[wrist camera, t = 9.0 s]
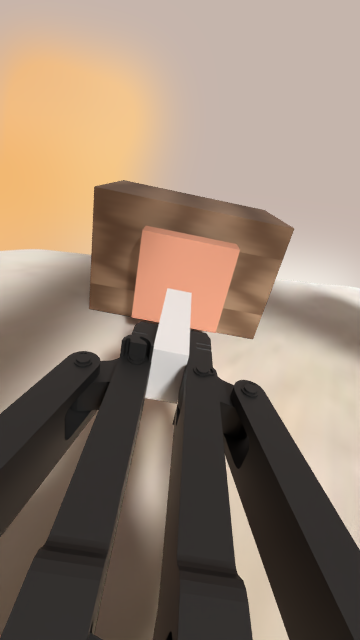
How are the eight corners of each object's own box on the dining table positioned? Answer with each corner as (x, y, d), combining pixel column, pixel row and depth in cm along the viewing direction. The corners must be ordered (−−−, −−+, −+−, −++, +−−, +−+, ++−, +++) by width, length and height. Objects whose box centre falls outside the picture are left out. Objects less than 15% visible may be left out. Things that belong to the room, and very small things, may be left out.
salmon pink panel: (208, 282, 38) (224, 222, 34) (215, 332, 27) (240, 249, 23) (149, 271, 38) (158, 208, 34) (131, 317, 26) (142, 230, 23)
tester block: (237, 295, 42) (264, 210, 36) (252, 339, 31) (294, 228, 26) (115, 271, 41) (123, 180, 35) (89, 308, 30) (94, 186, 25)
